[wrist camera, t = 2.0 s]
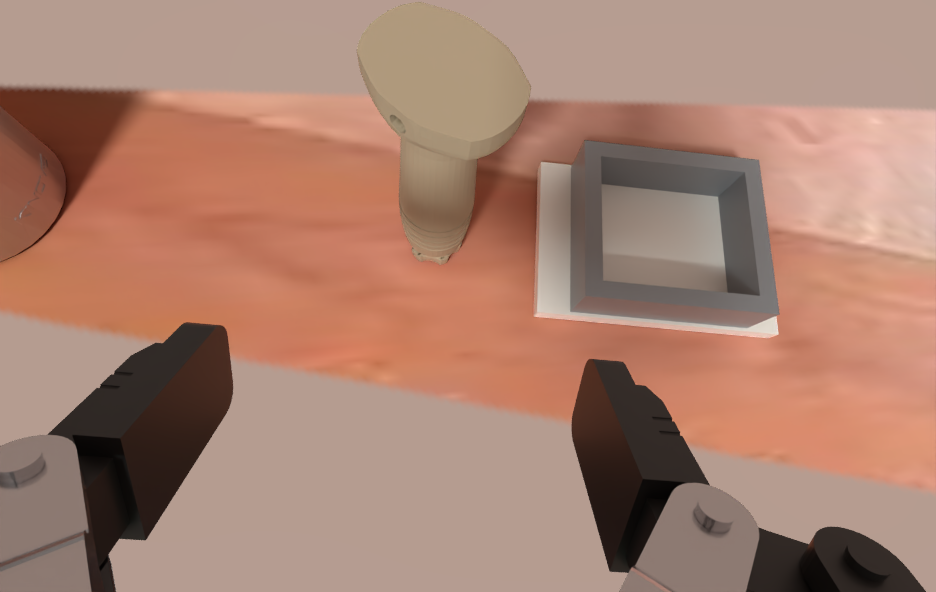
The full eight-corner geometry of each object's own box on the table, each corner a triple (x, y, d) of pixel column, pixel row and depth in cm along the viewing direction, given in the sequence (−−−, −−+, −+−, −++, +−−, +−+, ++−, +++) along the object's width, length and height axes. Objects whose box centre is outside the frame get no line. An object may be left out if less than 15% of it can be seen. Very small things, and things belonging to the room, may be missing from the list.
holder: (533, 316, 31) (549, 296, 27) (537, 169, 35) (552, 133, 31) (768, 338, 32) (814, 321, 28) (750, 193, 35) (789, 160, 32)
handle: (422, 188, 33) (423, -18, 19) (497, 250, 32) (555, 82, 18) (370, 237, 32) (329, 54, 18) (446, 303, 31) (467, 166, 17)
